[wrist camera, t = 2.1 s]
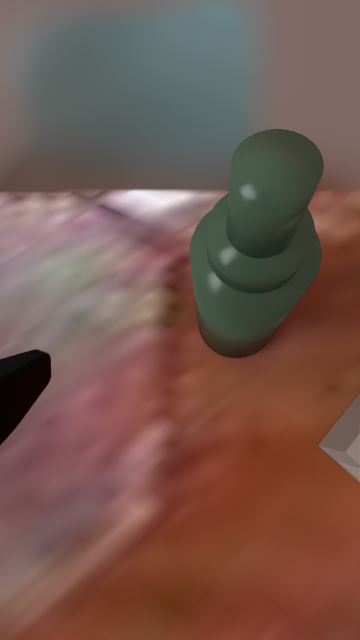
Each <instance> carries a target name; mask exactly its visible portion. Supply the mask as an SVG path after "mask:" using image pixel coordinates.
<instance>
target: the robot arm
mask: <svg viewBox="0 0 360 640" xmlns="http://www.w3.org/2000/svg"><path fill="white" fill-rule="evenodd" d="M50 379H51V358H50V355H49V354H48V353H46V352H43V351H40V350H37V349H35V350H31V351H27V352H24V353H20V354H17V355H13V356H10V357H6V358H3V359H0V445H1V444H2V443H3V442H4V441H5V440H6V438H7V437H8V436H9V435H10V434H11V433H12V432H13V430H14V429H15V428H16V427H17V426H18V424H19V423H20V422H21V420H22V419H23V418H24V416H25V415H26V414H27V412H28V411H29V410H30V408H31V407H32V405H33V404H34V403H35V401H36V400H37V399H38V397H39V396H40V394H41V393H42V392H43V390H44V389H45V388H46V386H47V385H48V383H49V381H50Z"/></svg>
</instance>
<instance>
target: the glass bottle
mask: <svg viewBox="0 0 360 640" xmlns="http://www.w3.org/2000/svg"><path fill="white" fill-rule="evenodd" d="M231 165H232V166H231V176H230V188H229V193H228V194H227V195H225V196H224V197H223V198H221V199H220V200H219V201H218V202H217V204H216V205H215V206H214V208H213V209H212V210H211V211H210V212H208V213H207V214H206V215H205V216H204V217H203V219H202V220H201V221H200V222H199V224H198V226H197V227H196V229H195V231H194V234H193V236H192V240H191V245H190V260H191V268H192V276H193V285H194V293H195V301H196V309H197V317H198V325H199V331H200V334H201V336H202V338H203V340H204V342H205V343H206V344H207V345H208V346H209V347H210V348H211V349H212V350H213V351H215V352H216V353H218V354H220V355H222V356H225V357H229V358H243V357H247V356H250V355H253V354H255V353H256V352H258V351H259V350H261V349H262V348H263V347H264V346H265V345H266V343H267V342H268V341H269V339H270V338H271V337H272V335H273V334H274V333H275V331H276V330H277V329H278V328H279V326H280V325H281V324H282V322H283V321H284V320H285V318H286V317H287V316H288V314H289V313H290V312H291V310H292V309H293V308H294V307H295V305H296V304H297V303H298V301H299V300H300V299H301V297H302V296H303V295H304V293H305V292H306V291H307V289H308V288H309V287H310V285H311V284H312V283H313V281H314V279H315V277H316V275H317V273H318V270H319V267H320V262H321V246H320V241H319V238H318V235H317V233H316V231H315V226H314V221H313V218H312V215H311V213H310V211H309V210H308V208H307V207H308V205H309V203H310V200H311V198H312V196H313V194H314V192H315V190H316V188H317V185H318V183H319V181H320V179H321V176H322V174H323V167H324V166H323V158H322V155H321V153H320V151H319V149H318V148H317V146H316V145H315V144H314V143H313V142H312V141H311V140H309V139H308V138H306V137H305V136H303V135H301V134H299V133H296V132H293V131H289V130H282V129H273V130H266V131H262V132H258V133H256V134H254V135H252V136H250V137H248V138H247V139H245V140H244V141H243V142H242V143H241V144H240V145H239V146H238V147H237V149H236V151H235V153H234V155H233V158H232V164H231Z"/></svg>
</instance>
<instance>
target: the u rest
mask: <svg viewBox="0 0 360 640" xmlns="http://www.w3.org/2000/svg"><path fill="white" fill-rule="evenodd" d="M318 446H319V447H320V448H321V449H323V450H324V451H325V452H326V453H327V454H328V455H329V456H330V457H332V458H333V459H334V460H335V461H336V462H337V463H338V464H339V465H341V466H342V467H343V468H344V469H345V470H346V471H347V472H348V473H350V474H351V475H352V476H353V477H354V478H355V479H356V480H358V481H359V482H360V393H359V394H358V396H357V397H356V398H355V399H354V401H353V402H352V403H351V404H350V406H349V407H348V408H347V409H346V411H345V412H344V413H343V414H342V416H341V417H340V418H339V419H338V421H337V422H336V423H335V425H334V426H333V427H332V428H331V430H330V431H329V432H328V433H327V435H326V436H325V437H324V438H323V440H322V441H321V442H320V443H319V445H318Z"/></svg>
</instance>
